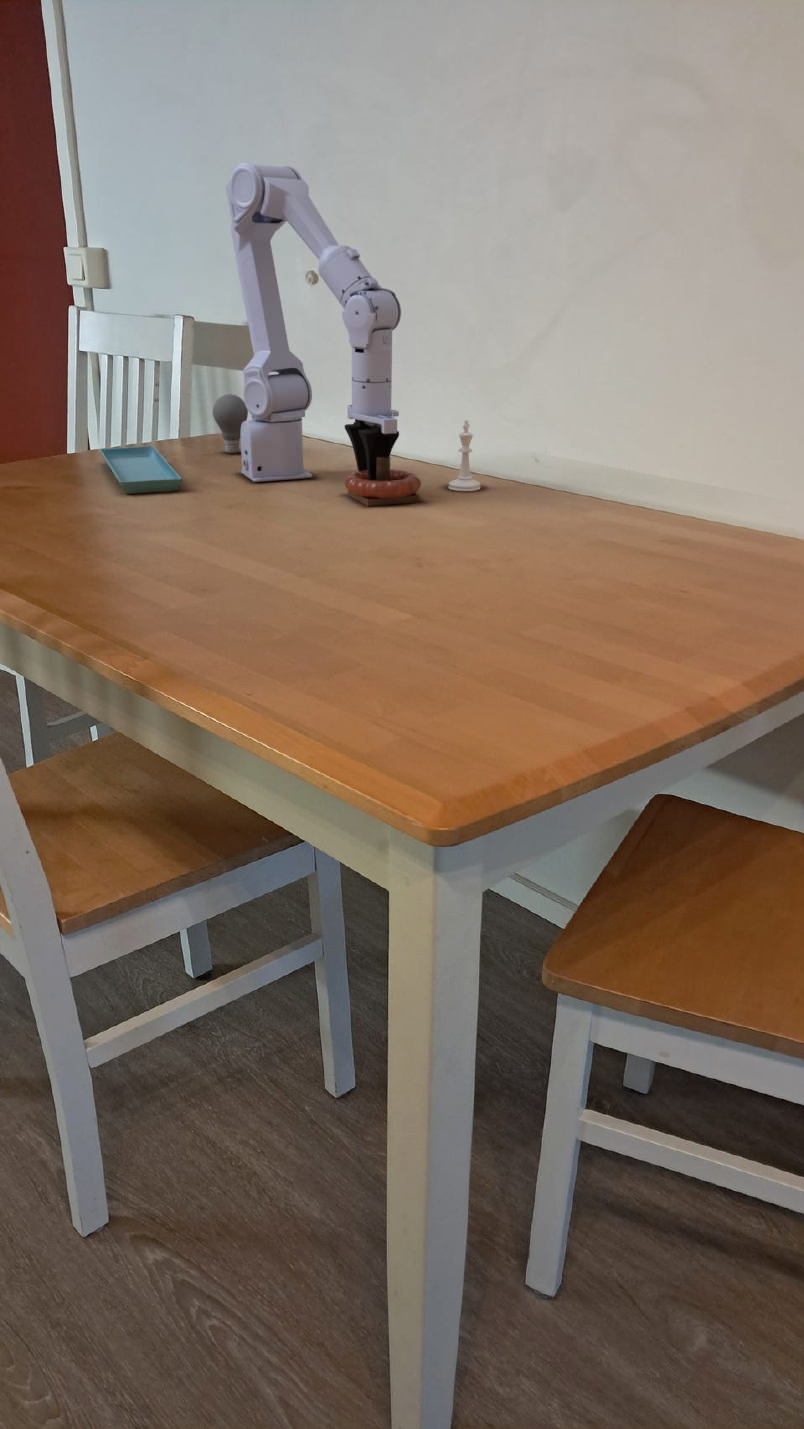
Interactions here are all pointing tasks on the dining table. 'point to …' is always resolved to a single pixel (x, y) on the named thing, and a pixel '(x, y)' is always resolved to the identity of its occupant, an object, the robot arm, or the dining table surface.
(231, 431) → the light bulb
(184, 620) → the dining table surface
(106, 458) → the teal serving tray
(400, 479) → the ring
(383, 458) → the post
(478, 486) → the chess piece
